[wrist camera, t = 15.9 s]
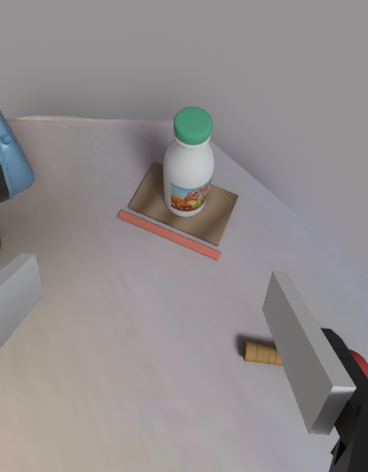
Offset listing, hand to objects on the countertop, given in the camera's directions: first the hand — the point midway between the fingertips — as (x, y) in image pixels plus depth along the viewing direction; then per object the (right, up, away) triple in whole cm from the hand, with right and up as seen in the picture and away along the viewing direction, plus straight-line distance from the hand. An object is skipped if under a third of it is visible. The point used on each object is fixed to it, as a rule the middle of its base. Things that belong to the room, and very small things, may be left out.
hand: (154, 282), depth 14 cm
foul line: (-1, +3, +32) cm, 32 cm away
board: (+2, +9, +35) cm, 36 cm away
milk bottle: (+2, +10, +34) cm, 36 cm away
